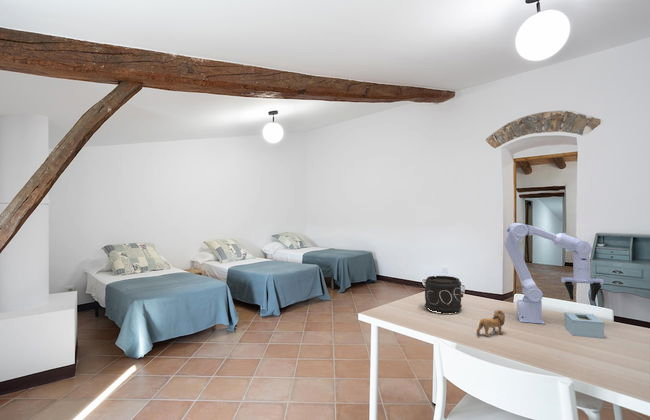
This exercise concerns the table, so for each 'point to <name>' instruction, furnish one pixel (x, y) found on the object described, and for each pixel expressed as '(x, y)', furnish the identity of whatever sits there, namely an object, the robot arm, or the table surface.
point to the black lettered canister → (443, 294)
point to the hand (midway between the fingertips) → (582, 299)
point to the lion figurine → (492, 323)
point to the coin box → (584, 325)
